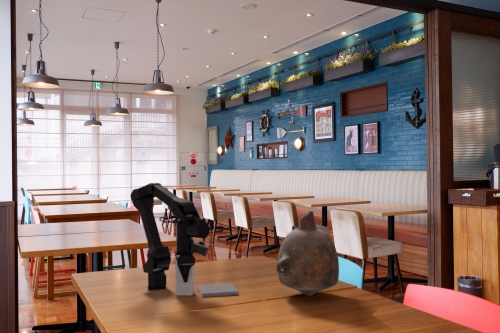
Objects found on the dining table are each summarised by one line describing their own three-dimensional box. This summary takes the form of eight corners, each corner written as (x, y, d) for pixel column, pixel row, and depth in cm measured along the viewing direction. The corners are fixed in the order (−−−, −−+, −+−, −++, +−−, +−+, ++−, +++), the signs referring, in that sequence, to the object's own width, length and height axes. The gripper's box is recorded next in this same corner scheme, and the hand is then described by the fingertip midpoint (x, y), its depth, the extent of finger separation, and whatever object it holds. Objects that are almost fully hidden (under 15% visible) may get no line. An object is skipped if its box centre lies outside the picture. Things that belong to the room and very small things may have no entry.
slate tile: (201, 297, 173) (201, 293, 173) (198, 288, 186) (198, 285, 186) (238, 294, 176) (238, 291, 176) (232, 286, 188) (232, 283, 188)
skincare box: (194, 292, 179) (194, 259, 179) (192, 295, 175) (191, 262, 175) (178, 292, 180) (177, 259, 180) (175, 295, 176) (175, 261, 176)
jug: (295, 285, 189) (294, 206, 189) (349, 291, 178) (348, 208, 178) (264, 300, 168) (263, 212, 168) (323, 308, 157) (322, 214, 157)
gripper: (209, 238, 170) (210, 284, 170) (204, 232, 188) (204, 273, 188) (177, 240, 168) (177, 286, 168) (174, 233, 186) (175, 274, 186)
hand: (184, 279), depth 177 cm, fingers open, 9 cm apart
